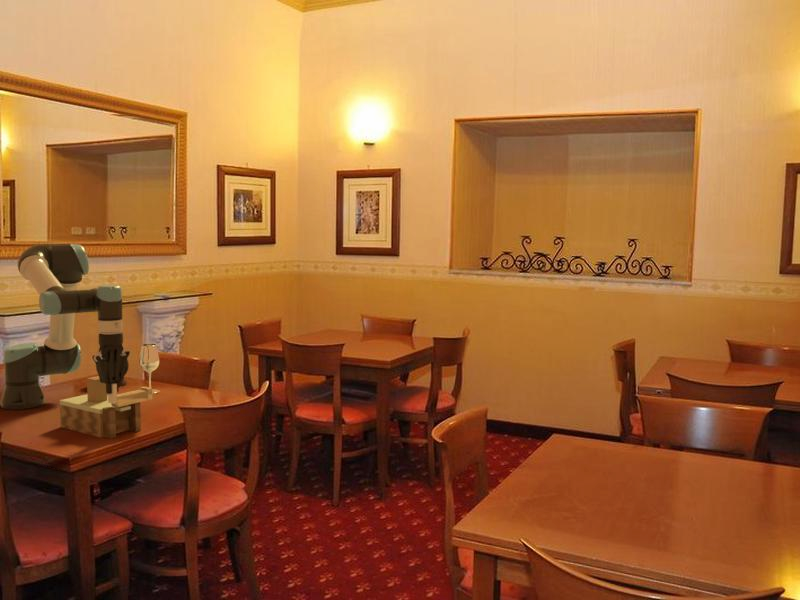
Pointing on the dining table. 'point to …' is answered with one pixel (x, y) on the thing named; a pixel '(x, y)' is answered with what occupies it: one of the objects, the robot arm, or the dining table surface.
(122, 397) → the light wooden bar
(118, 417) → the wooden box
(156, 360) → the wineglass
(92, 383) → the lid
